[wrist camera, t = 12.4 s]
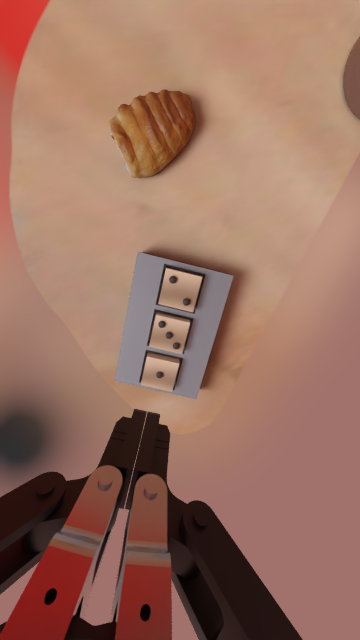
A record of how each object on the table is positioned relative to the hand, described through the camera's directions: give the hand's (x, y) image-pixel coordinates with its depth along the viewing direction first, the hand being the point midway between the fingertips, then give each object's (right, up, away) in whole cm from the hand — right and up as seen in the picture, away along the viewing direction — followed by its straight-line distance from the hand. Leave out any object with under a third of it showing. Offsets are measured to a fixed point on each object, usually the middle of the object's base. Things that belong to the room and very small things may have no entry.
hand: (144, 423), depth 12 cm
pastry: (-1, +27, +13) cm, 30 cm away
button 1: (-1, -1, +19) cm, 19 cm away
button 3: (+1, +5, +18) cm, 18 cm away
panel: (+1, +5, +19) cm, 19 cm away
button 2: (+2, +10, +16) cm, 19 cm away
